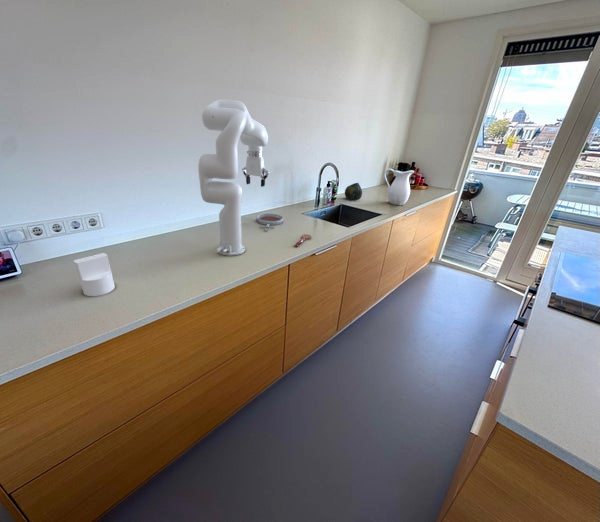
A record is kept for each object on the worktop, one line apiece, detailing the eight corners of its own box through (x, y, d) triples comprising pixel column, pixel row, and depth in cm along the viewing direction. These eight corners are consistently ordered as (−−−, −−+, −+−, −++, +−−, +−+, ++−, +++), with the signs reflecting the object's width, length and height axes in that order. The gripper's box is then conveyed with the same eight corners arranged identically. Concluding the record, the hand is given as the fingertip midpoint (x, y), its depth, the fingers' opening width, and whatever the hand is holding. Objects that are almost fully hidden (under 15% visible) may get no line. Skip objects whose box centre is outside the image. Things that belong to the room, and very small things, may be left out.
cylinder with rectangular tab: (108, 280, 105) (101, 250, 100) (119, 289, 100) (111, 258, 95) (79, 289, 98) (69, 257, 93) (89, 299, 94) (79, 266, 88)
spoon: (300, 248, 143) (300, 245, 142) (291, 246, 145) (291, 243, 144) (312, 237, 158) (312, 234, 158) (303, 235, 160) (304, 232, 159)
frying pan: (250, 226, 160) (258, 211, 185) (250, 231, 161) (258, 216, 186) (280, 229, 160) (284, 213, 185) (280, 233, 161) (284, 218, 186)
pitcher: (409, 203, 247) (417, 170, 235) (404, 207, 234) (412, 172, 222) (382, 198, 258) (388, 166, 246) (376, 202, 245) (382, 168, 232)
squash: (338, 191, 245) (351, 180, 235) (347, 190, 256) (359, 179, 246) (347, 205, 243) (360, 194, 233) (356, 203, 254) (368, 192, 244)
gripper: (238, 153, 160) (239, 184, 167) (265, 156, 154) (265, 188, 162) (245, 152, 166) (246, 182, 174) (272, 155, 160) (271, 186, 168)
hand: (255, 185), depth 168 cm, fingers open, 9 cm apart
